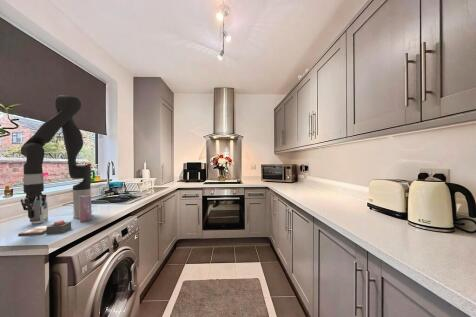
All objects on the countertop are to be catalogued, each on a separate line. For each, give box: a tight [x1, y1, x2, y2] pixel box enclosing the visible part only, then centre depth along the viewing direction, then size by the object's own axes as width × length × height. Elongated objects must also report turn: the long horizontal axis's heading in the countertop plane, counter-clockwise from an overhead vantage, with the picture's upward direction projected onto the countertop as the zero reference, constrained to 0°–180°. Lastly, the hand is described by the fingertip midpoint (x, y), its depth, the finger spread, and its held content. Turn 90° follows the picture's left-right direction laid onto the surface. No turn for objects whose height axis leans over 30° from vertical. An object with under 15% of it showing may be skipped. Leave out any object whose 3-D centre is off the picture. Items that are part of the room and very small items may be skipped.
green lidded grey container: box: [29, 200, 41, 223], centre depth 111 cm, size 4×4×10 cm
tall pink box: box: [78, 195, 93, 223], centre depth 129 cm, size 6×6×15 cm
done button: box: [53, 220, 65, 226], centre depth 111 cm, size 4×4×2 cm
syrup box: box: [31, 196, 49, 224], centre depth 129 cm, size 6×6×14 cm
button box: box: [46, 221, 72, 235], centre depth 111 cm, size 7×7×4 cm
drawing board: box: [17, 225, 48, 237], centre depth 111 cm, size 12×10×1 cm
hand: (34, 216), depth 111 cm, fingers closed on green lidded grey container, 4 cm apart
